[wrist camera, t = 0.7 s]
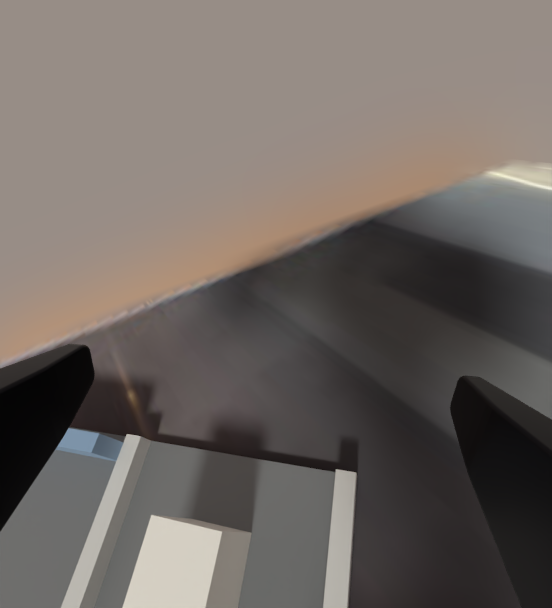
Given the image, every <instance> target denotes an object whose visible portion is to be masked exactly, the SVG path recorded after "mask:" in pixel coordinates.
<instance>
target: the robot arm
mask: <svg viewBox="0 0 552 608" xmlns="http://www.w3.org/2000/svg"><path fill="white" fill-rule="evenodd" d="M93 380H94V368H93V363H92V358H91V353H90V349H89V348H88V346H86V345H80V344H68V345H65V346H62V347H59V348H57V349H54V350H51V351H48V352H46V353H43V354H40V355H37V356H34V357H32V358H29V359H26V360H23V361H20V362H18V363H15V364H12V365H9V366H6V367H4V368H1V369H0V532H1V530H2V529H3V527H4V526H5V524H6V523H7V521H8V520H9V518H10V517H11V515H12V514H13V512H14V511H15V509H16V508H17V506H18V505H19V503H20V502H21V500H22V499H23V497H24V496H25V494H26V493H27V491H28V490H29V488H30V487H31V485H32V484H33V482H34V481H35V479H36V478H37V476H38V475H39V473H40V472H41V470H42V469H43V467H44V466H45V464H46V463H47V461H48V460H49V458H50V457H51V455H52V454H53V452H54V451H55V449H56V448H57V446H58V445H59V443H60V442H61V440H62V439H63V437H64V435H65V434H66V432H67V430H68V428H69V427H70V425H71V423H72V421H73V419H74V417H75V415H76V413H77V412H78V410H79V408H80V406H81V404H82V402H83V400H84V398H85V396H86V395H87V393H88V391H89V389H90V387H91V385H92V383H93ZM450 410H451V416H452V419H453V423H454V426H455V430H456V434H457V437H458V441H459V444H460V448H461V451H462V455H463V459H464V462H465V465H466V469H467V472H468V475H469V477H470V480H471V483H472V485H473V488H474V490H475V493H476V495H477V498H478V500H479V503H480V505H481V508H482V510H483V513H484V515H485V518H486V520H487V523H488V525H489V528H490V530H491V533H492V535H493V538H494V540H495V543H496V545H497V548H498V550H499V552H500V555H501V557H502V560H503V562H504V565H505V567H506V570H507V572H508V575H509V577H510V580H511V582H512V585H513V587H514V590H515V592H516V595H517V597H518V600H519V602H520V605H521V607H522V608H552V420H551V419H550V418H548V417H546V416H545V415H543V414H541V413H540V412H538V411H536V410H535V409H533V408H531V407H529V406H528V405H526V404H524V403H523V402H521V401H519V400H518V399H516V398H514V397H513V396H511V395H509V394H508V393H506V392H504V391H503V390H501V389H499V388H497V387H496V386H494V385H492V384H491V383H489V382H487V381H486V380H484V379H482V378H480V377H474V376H462V377H460V378H459V380H458V382H457V385H456V388H455V392H454V395H453V398H452V401H451V407H450Z"/></svg>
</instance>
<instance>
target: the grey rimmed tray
mask: <svg viewBox="0 0 552 608" xmlns="http://www.w3.org/2000/svg"><path fill="white" fill-rule="evenodd" d="M356 492H357V474H356V472H350V471H344V470H338V469H336V472H331V471H325V470H319V469H314V468H308V467H302V466H296V465H290V464H284V463H278V462H273V461H267V460H261V459H255V458H249V457H243V456H238V455H232V454H226V453H220V452H214V451H208V450H202V449H197V448H191V447H185V446H179V445H173V444H167V443H162V442H156V441H151V440H148V439H146V438H144V437H141V436H136V435H130V434H127V435H126V436H121V435H115V434H109V433H103V432H97V431H91V430H86V429H80V428H74V427H69V428H68V430H67V432H66V434H65V435H64V437H63V439H62V440H61V442H60V443H59V445H58V446H57V448H56V449H55V451H54V452H53V454H52V455H51V457H50V458H49V460H48V461H47V463H46V464H45V466H44V467H43V469H42V470H41V472H40V473H39V475H38V476H37V478H36V479H35V481H34V482H33V484H32V485H31V487H30V488H29V490H28V491H27V493H26V494H25V496H24V497H23V499H22V500H21V502H20V503H19V505H18V506H17V508H16V509H15V511H14V512H13V514H12V515H11V517H10V518H9V520H8V521H7V523H6V524H5V526H4V527H3V529H2V530H1V532H0V608H122V607H123V604H124V601H125V598H126V594H127V591H128V588H129V585H130V582H131V578H132V575H133V572H134V569H135V566H136V562H137V559H138V556H139V553H140V550H141V546H142V543H143V540H144V537H145V534H146V530H147V527H148V524H149V521H150V518H151V515H158V516H168V517H178V518H188V519H195V520H199V521H203V522H208V523H212V524H216V525H220V526H225V527H229V528H233V529H238V530H242V531H246V532H250V533H252V534H251V539H250V545H249V550H248V555H247V561H246V566H245V571H244V577H243V582H242V588H241V593H240V598H239V604H238V608H349V601H350V586H351V570H352V555H353V539H354V523H355V508H356Z"/></svg>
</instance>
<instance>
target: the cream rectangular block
mask: <svg viewBox="0 0 552 608" xmlns="http://www.w3.org/2000/svg"><path fill="white" fill-rule="evenodd" d="M251 534H252V533H250V532H246V531H242V530H238V529H233V528H229V527H225V526H220V525H216V524H212V523H208V522H203V521H199V520H195V519H188V518H178V517H168V516H158V515H151V518H150V521H149V524H148V527H147V530H146V534H145V537H144V540H143V543H142V546H141V550H140V553H139V556H138V559H137V562H136V566H135V569H134V572H133V575H132V578H131V582H130V585H129V588H128V591H127V594H126V598H125V601H124V604H123V607H122V608H238V604H239V598H240V593H241V588H242V582H243V577H244V571H245V566H246V561H247V555H248V550H249V545H250V539H251Z"/></svg>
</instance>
